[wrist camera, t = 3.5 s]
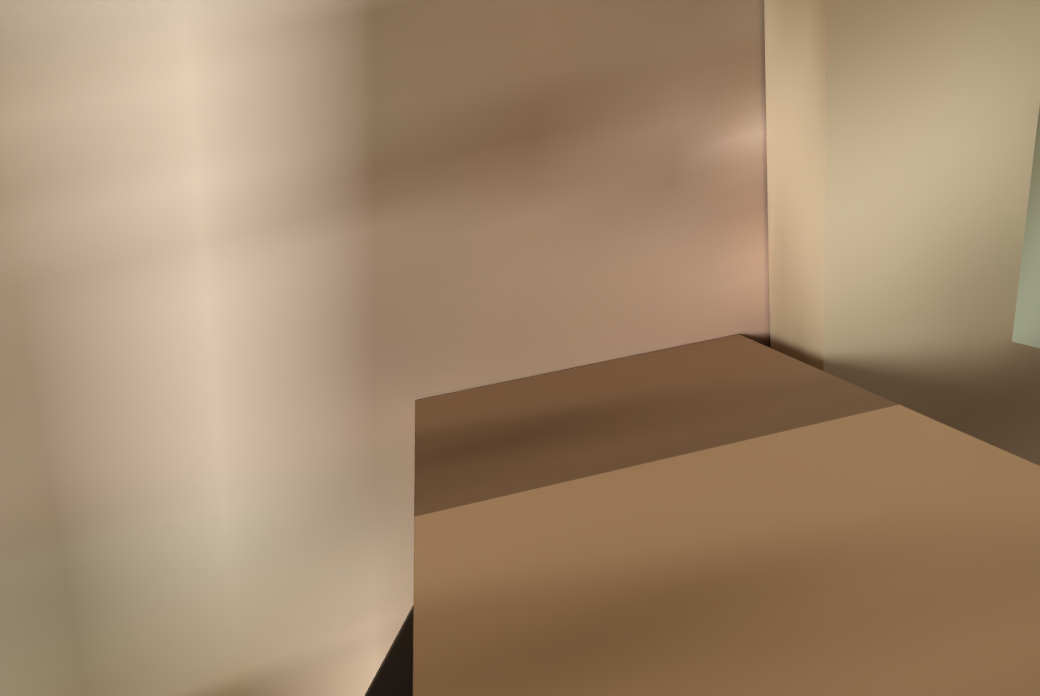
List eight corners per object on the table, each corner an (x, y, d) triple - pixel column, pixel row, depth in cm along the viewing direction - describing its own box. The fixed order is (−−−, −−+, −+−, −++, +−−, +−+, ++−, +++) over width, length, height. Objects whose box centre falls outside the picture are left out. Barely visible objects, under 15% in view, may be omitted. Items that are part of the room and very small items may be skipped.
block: (748, 598, 10) (1184, 1130, 4) (475, 672, 9) (566, 1414, 4) (738, 334, 9) (1378, 615, 3) (415, 400, 8) (412, 932, 2)
